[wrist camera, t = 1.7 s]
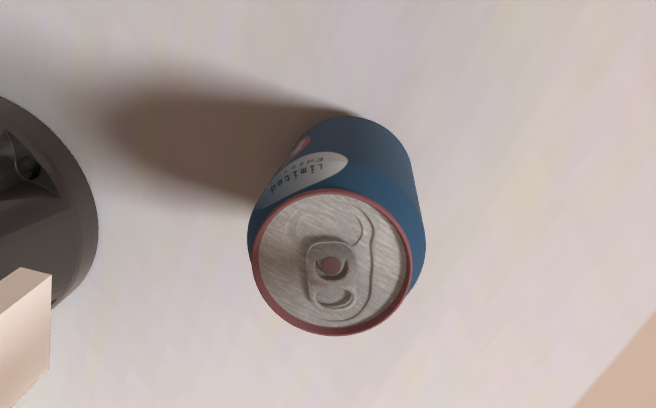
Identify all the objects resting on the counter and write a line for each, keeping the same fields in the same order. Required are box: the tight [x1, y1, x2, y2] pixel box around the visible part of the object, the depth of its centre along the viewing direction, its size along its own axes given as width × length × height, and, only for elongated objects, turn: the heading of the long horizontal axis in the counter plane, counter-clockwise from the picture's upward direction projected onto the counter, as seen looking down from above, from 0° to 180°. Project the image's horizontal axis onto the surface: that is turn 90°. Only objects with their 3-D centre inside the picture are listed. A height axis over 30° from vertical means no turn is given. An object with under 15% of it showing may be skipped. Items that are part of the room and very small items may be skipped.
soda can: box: [247, 117, 426, 336], centre depth 23 cm, size 7×7×12 cm
